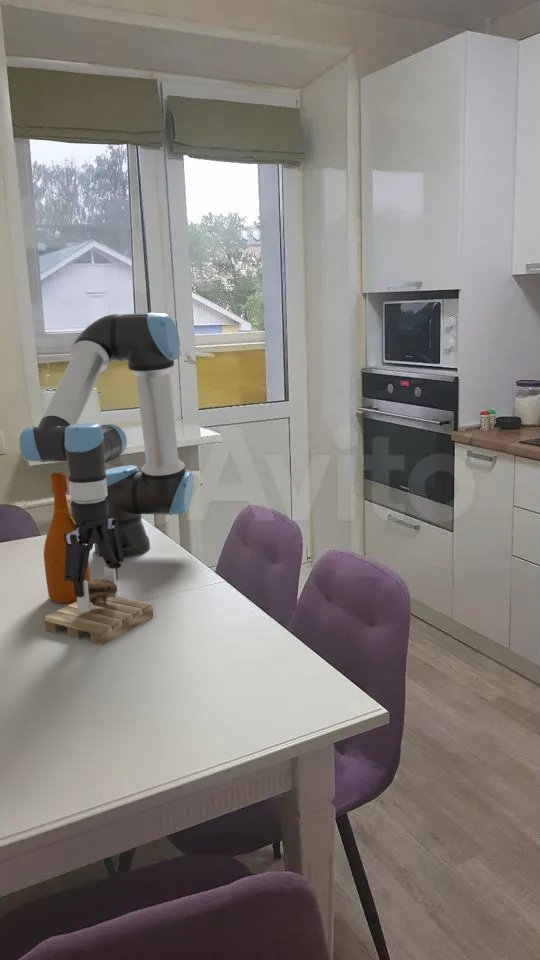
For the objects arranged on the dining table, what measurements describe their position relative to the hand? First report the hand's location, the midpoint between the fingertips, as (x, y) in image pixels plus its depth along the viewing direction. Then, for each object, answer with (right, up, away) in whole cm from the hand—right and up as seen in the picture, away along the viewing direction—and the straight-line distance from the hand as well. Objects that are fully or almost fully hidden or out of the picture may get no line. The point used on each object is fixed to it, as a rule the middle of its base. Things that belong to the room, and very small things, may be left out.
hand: (98, 603), depth 158 cm
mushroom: (0, -1, 0) cm, 1 cm away
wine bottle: (-10, -2, +16) cm, 19 cm away
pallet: (0, -4, +1) cm, 5 cm away
